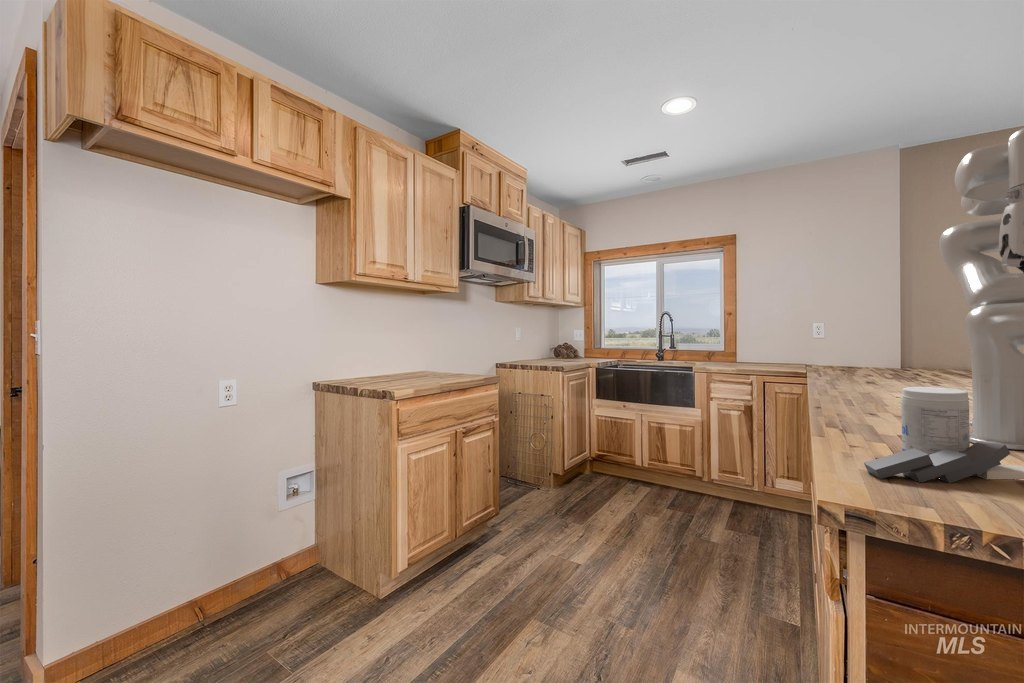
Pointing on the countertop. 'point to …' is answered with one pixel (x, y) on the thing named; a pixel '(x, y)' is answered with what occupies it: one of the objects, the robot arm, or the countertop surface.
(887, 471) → the domino
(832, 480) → the countertop surface
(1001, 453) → the domino
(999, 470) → the domino
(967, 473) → the domino
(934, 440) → the supplement tub
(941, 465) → the domino
